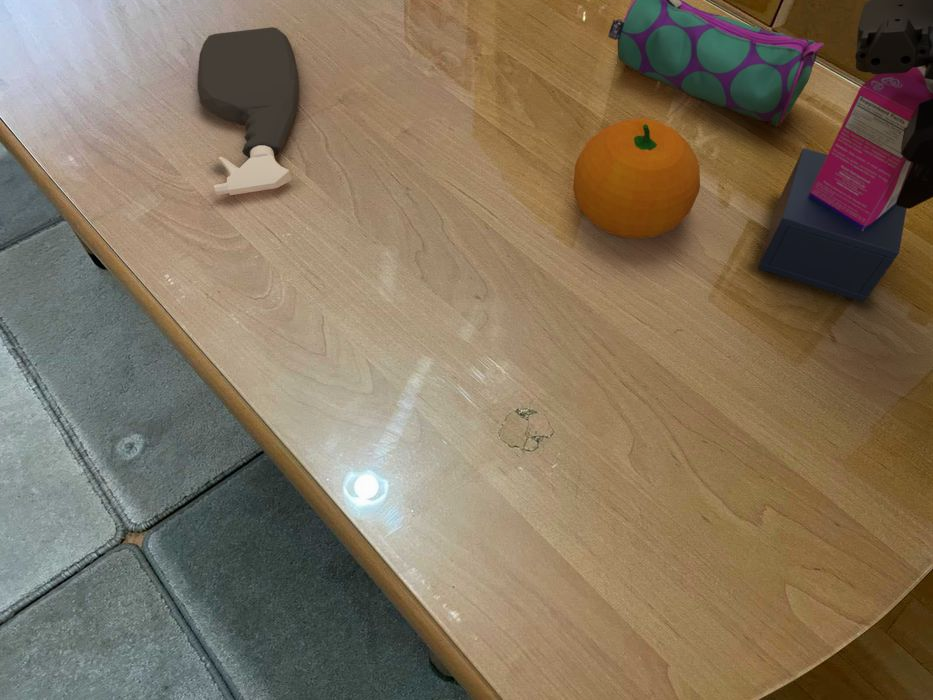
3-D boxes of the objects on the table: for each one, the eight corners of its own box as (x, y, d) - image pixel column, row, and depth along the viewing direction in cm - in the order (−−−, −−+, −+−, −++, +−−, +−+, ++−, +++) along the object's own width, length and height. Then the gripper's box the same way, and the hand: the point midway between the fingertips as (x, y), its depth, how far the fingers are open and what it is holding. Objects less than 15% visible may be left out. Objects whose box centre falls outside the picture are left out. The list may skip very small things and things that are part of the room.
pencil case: (600, 74, 86) (614, -6, 78) (637, 38, 90) (654, -42, 82) (771, 147, 79) (806, 67, 71) (803, 104, 83) (839, 23, 75)
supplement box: (841, 166, 68) (903, 53, 58) (899, 202, 65) (974, 89, 56) (803, 195, 66) (861, 82, 56) (862, 233, 63) (933, 122, 54)
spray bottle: (295, 46, 88) (315, 192, 75) (200, 56, 87) (204, 207, 74) (290, 23, 86) (310, 169, 73) (193, 33, 85) (195, 185, 71)
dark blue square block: (777, 201, 74) (799, 156, 70) (877, 231, 72) (907, 186, 67) (757, 268, 69) (779, 224, 65) (863, 302, 67) (894, 259, 62)
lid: (800, 154, 70) (803, 147, 69) (907, 184, 68) (912, 177, 67) (779, 224, 65) (782, 217, 64) (894, 259, 62) (899, 252, 62)
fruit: (574, 254, 70) (590, 173, 62) (563, 168, 77) (575, 85, 69) (699, 253, 70) (731, 172, 62) (676, 167, 77) (702, 84, 69)
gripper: (911, -105, 55) (826, 79, 68) (879, 29, 45) (786, 214, 58) (1079, -73, 52) (957, 112, 65) (1082, 76, 43) (938, 259, 55)
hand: (908, 169), depth 61 cm, fingers open, 9 cm apart
